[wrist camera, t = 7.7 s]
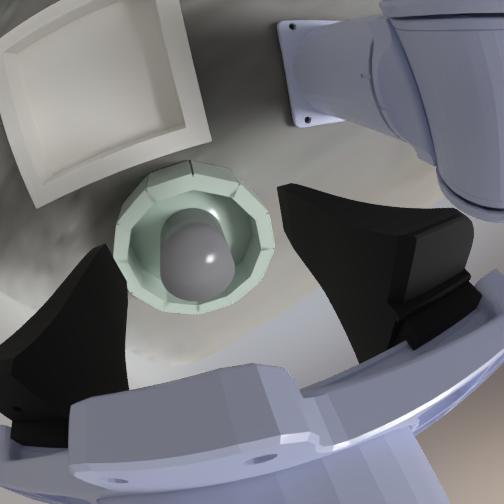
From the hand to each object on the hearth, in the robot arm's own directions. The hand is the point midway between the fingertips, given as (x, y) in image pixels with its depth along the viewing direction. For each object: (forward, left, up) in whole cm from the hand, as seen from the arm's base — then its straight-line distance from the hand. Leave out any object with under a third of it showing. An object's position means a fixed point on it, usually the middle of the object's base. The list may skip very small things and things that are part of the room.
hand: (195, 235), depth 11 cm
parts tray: (+4, -8, -9) cm, 13 cm away
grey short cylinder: (+1, +5, -9) cm, 10 cm away
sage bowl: (+1, +5, -9) cm, 11 cm away
